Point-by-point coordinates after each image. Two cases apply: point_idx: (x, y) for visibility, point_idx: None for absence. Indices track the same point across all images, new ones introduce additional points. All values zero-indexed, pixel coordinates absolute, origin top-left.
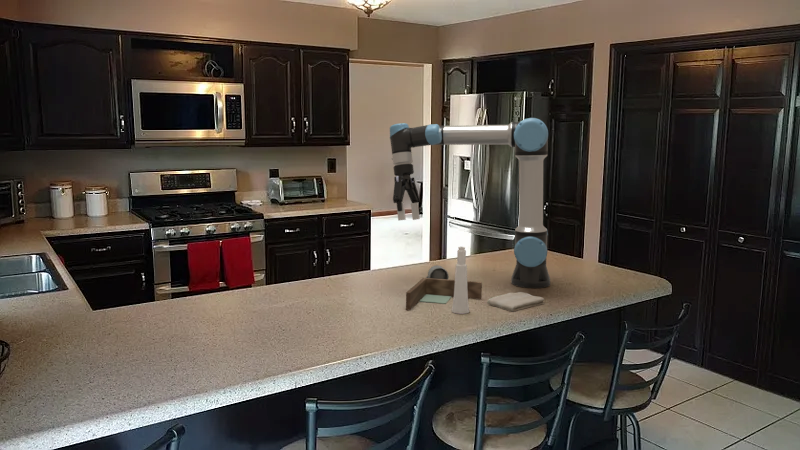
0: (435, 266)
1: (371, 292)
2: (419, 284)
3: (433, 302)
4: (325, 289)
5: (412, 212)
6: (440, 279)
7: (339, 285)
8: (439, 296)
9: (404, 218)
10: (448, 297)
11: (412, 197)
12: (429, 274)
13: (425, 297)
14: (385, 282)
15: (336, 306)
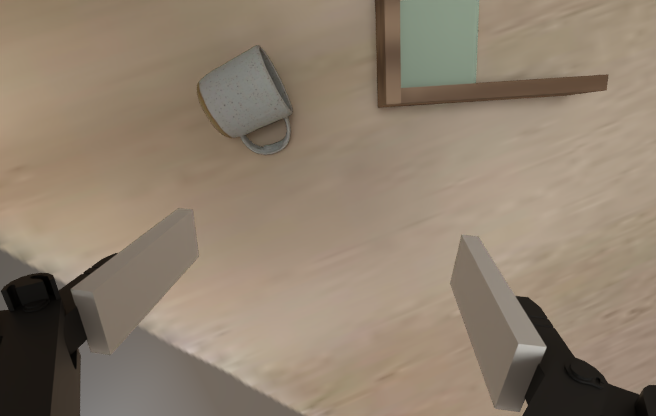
0: (237, 103)
1: (416, 251)
2: (489, 83)
3: (476, 38)
4: (424, 367)
5: (167, 285)
6: (393, 32)
7: (373, 354)
8: (407, 40)
9: (480, 243)
10: (410, 7)
11: (69, 386)
12: (284, 114)
13: (432, 80)
14: (294, 257)
15: (572, 278)
